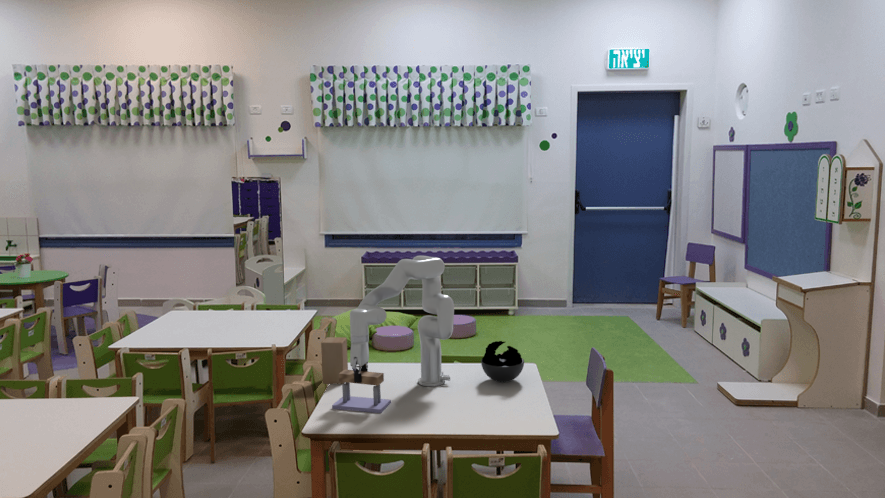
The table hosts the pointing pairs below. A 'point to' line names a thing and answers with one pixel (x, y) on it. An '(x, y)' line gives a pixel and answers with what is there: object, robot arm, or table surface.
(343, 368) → the wooden block
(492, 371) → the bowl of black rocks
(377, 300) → the robot arm
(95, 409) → the table surface
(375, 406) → the peg stand
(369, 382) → the shelf board
